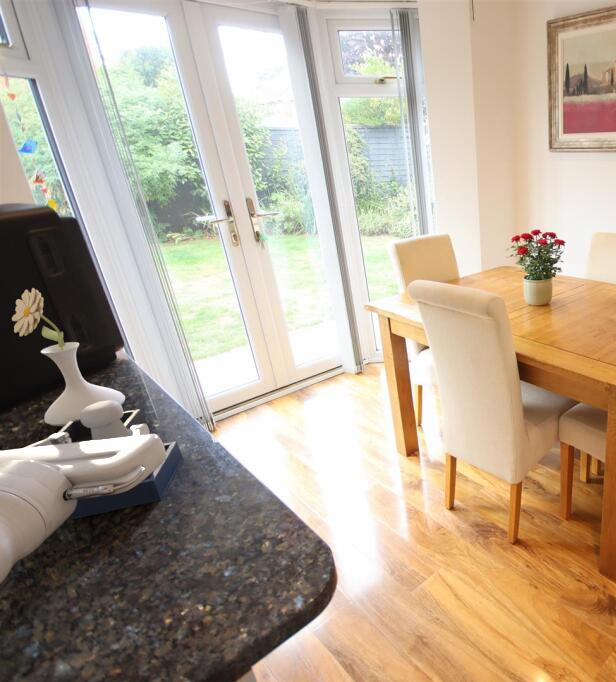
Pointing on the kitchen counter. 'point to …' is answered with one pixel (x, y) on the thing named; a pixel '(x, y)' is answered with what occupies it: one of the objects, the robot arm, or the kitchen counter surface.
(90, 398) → the flower in vase
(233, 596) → the kitchen counter surface
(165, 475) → the tub
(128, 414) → the tub
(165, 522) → the kitchen counter surface
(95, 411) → the salt shaker
